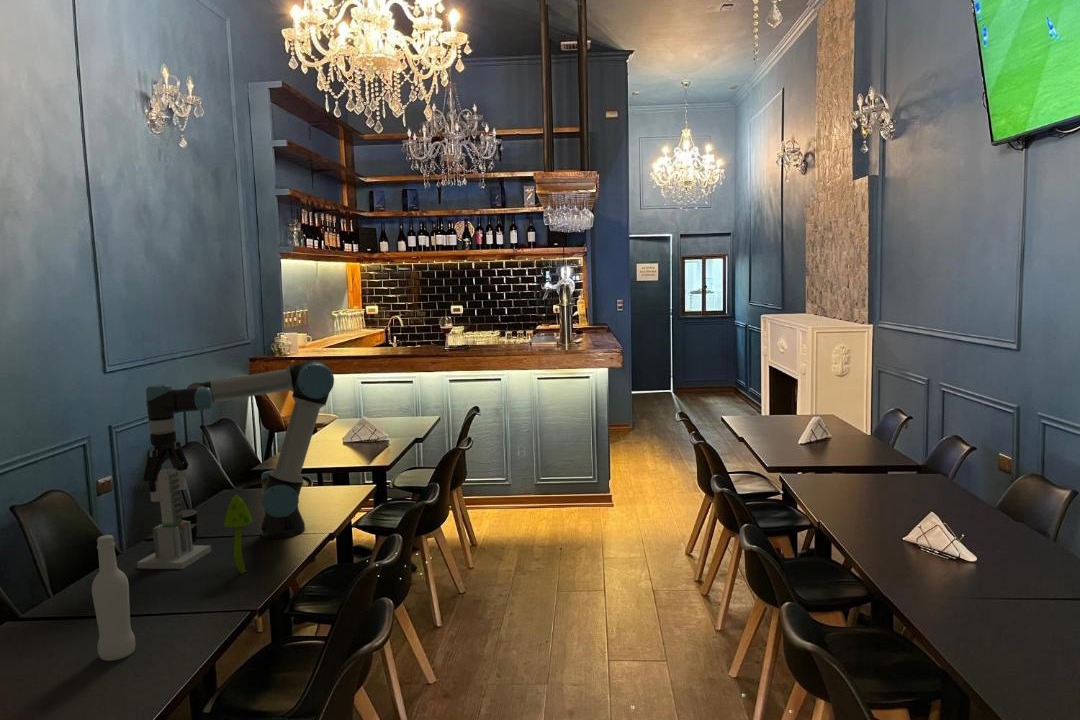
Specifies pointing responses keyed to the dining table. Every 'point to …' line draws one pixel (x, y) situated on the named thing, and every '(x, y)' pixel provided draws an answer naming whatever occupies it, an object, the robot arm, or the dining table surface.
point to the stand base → (173, 548)
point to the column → (170, 498)
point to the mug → (191, 521)
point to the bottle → (112, 605)
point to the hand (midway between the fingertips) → (169, 495)
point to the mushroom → (238, 526)
